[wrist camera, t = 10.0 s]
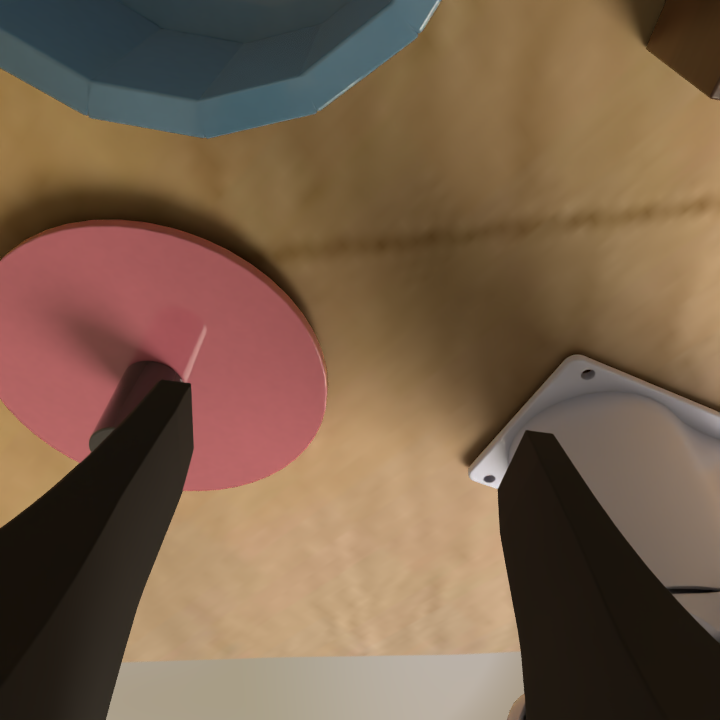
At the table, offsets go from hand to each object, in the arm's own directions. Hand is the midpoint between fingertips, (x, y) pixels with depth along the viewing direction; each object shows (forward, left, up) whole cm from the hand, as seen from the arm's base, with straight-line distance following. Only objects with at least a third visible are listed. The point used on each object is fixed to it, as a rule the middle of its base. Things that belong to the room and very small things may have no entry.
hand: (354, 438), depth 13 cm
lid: (+5, +9, -9) cm, 14 cm away
